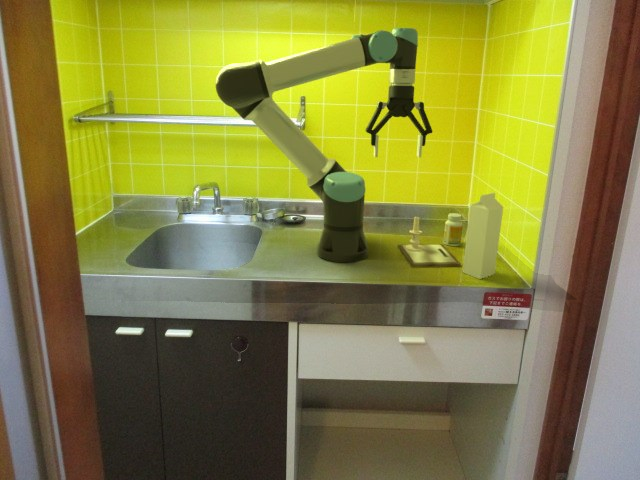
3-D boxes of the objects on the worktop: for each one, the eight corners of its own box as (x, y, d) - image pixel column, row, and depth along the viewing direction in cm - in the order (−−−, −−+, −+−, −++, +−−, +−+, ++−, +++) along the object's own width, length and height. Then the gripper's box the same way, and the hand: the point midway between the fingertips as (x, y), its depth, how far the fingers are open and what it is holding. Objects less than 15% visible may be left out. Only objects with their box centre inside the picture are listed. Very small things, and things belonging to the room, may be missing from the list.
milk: (494, 275, 133) (506, 195, 126) (480, 279, 130) (491, 198, 123) (475, 268, 138) (486, 190, 131) (461, 272, 135) (471, 193, 128)
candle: (421, 246, 152) (424, 213, 149) (424, 251, 147) (427, 218, 144) (404, 245, 152) (406, 212, 149) (406, 251, 147) (409, 217, 144)
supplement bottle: (439, 243, 158) (442, 214, 155) (450, 240, 161) (452, 211, 158) (453, 247, 154) (456, 218, 151) (464, 244, 157) (467, 215, 154)
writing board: (411, 267, 138) (411, 263, 138) (397, 247, 154) (398, 243, 154) (460, 266, 139) (460, 262, 139) (441, 246, 155) (442, 243, 155)
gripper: (362, 84, 142) (359, 158, 149) (446, 85, 144) (440, 158, 151) (358, 84, 149) (355, 154, 156) (439, 85, 151) (433, 154, 158)
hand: (397, 156), depth 154 cm, fingers open, 13 cm apart
